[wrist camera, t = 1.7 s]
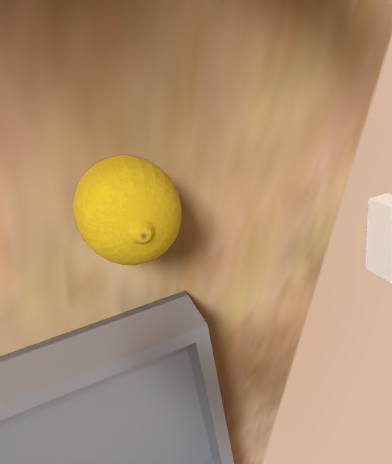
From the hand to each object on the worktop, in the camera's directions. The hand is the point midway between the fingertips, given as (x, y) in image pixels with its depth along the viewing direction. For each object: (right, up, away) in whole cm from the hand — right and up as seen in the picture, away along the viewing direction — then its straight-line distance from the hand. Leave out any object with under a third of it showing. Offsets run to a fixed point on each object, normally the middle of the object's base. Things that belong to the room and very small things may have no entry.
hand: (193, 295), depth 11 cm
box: (-8, -14, +18) cm, 24 cm away
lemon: (-5, +5, +12) cm, 14 cm away
